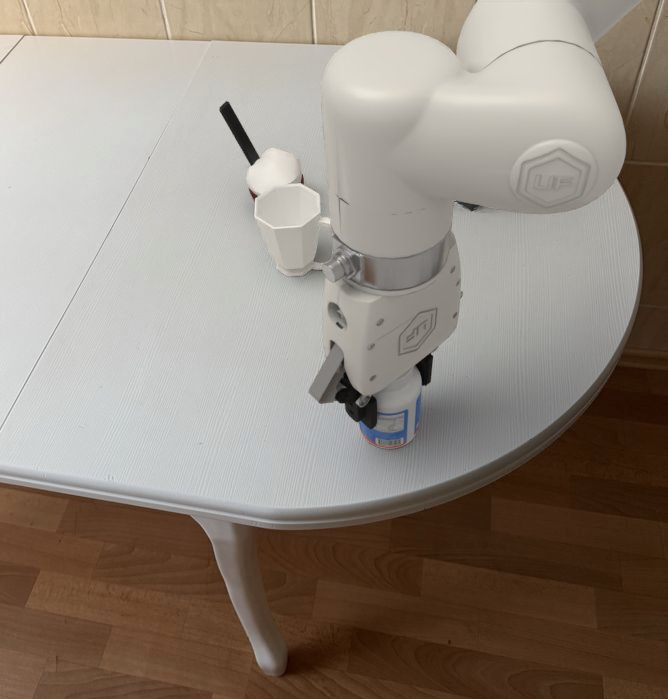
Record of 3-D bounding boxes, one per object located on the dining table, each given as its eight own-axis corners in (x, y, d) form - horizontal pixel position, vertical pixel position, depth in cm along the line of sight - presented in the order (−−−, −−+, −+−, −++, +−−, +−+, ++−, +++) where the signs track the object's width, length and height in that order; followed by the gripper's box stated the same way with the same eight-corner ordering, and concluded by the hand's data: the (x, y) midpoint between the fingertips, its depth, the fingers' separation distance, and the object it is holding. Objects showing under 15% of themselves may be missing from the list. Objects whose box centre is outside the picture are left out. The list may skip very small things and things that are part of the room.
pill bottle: (387, 389, 65) (388, 321, 57) (431, 423, 63) (438, 358, 55) (345, 425, 63) (340, 361, 55) (389, 462, 60) (390, 400, 53)
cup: (277, 234, 79) (268, 176, 72) (362, 252, 76) (361, 194, 70) (252, 278, 75) (240, 221, 68) (340, 299, 72) (336, 242, 66)
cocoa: (323, 212, 80) (315, 121, 71) (278, 238, 78) (264, 148, 69) (275, 172, 85) (261, 83, 76) (232, 195, 83) (212, 106, 73)
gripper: (326, 345, 40) (341, 488, 54) (525, 202, 46) (491, 365, 60) (248, 275, 43) (281, 427, 58) (441, 152, 50) (428, 316, 64)
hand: (388, 394), depth 59 cm, fingers closed on pill bottle, 5 cm apart
